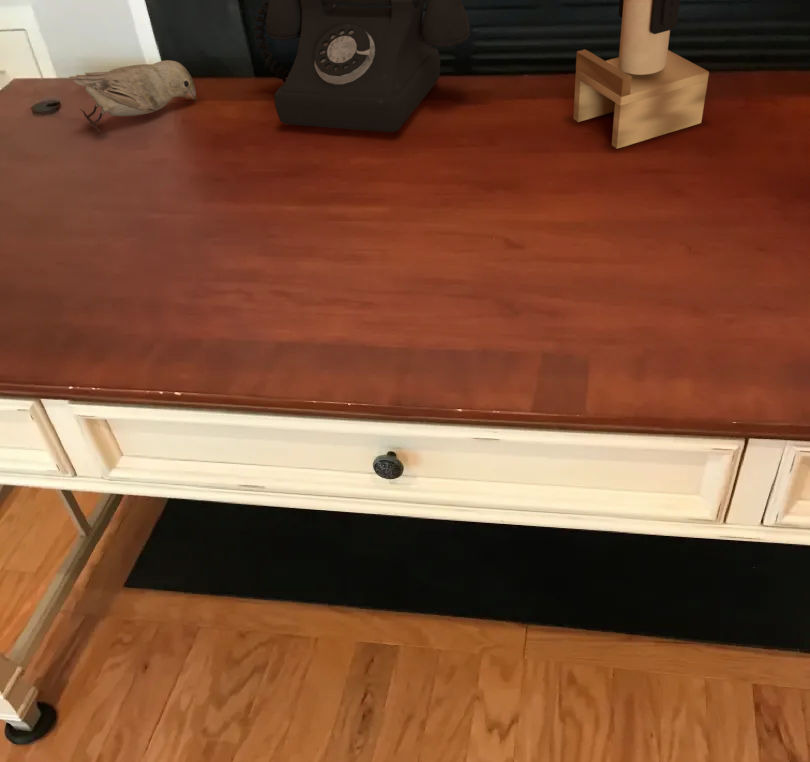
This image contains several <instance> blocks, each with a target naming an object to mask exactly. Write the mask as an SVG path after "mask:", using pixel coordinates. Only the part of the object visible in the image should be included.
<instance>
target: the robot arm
mask: <svg viewBox="0 0 810 762" xmlns="http://www.w3.org/2000/svg"><path fill="white" fill-rule="evenodd" d="M623 2H624V0H619V4H618V17H620V18H622V14H623ZM680 2H681V0H653V4H652V14H651V24H650V32H651V33H653V34H658V33H661V32H665V31H669V30H670V31H671V30H675V29H676V28H677V26H678V20H679V10H680Z"/></svg>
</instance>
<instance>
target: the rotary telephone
mask: <svg viewBox="0 0 810 762" xmlns="http://www.w3.org/2000/svg"><path fill="white" fill-rule="evenodd" d="M424 3H425V4H426V7H425V11H424V5H425V4H424ZM260 5H261V7H258V8H257V14H258V15H257V16H255V18H254V20H255V22H258V23H261V24H260V25H258V24H256V25H254V26H253V27H254V30H255V31H261V32H260V33H256V34H254V39H255V40H261V41H260V42H258V43H257V44H256V48H257V49H258V50H261V51H260V53H259V55H260V57H261V58H262V59H265V60H264V65H265V66H266V67H269V71H270V73H271V74H274V75H275V77H276V78H277V79H278V80H282V82H283V83H282V85H280V86H279V87H278V88H277V89H276V91H275V92H274V95H273V96H274V107H275V110H276V114H277V116H278V120H279V121H280V122H281V123H282V124H283V125H290V126H291V125H292V126H303V127H316V128H329V129H344V130H357V131H370V132H384V133H395V132H397V131H399V130H400V129H401V128H402V126H403V125H404V124H405V123H406V121H407V120H409V117H410V116H411V115H412V114H413V112H414V111H415V110H416V109H417V108H418V106H419V105H420V104H421V102H422V101H423V100H424V98H425V97H426V96H427V94H428V93H429V92H430V91H431V89H433V87H434V86H435V85H436V83H437V82H438V81H439V78H440V76H441V59H440V52H439V50H438V49H437V48H449V47H452V46H457V45H460V44H462V43H463V42H465V41H466V40H468V38H469V37H470V34H471V31H470V29H471V27H470V22H469V17H468V15H467V11H466V9H465V7H464V5H463V2H462V0H268V1H265V0H263V1H262V2H261V3H260ZM351 5H352V6H351ZM379 6H381V7H379ZM382 6H384V7H382ZM385 6H389V7H385ZM390 6H391V7H390ZM265 26H266V28H264V27H265ZM266 31H267V32H266ZM266 33H267V36H268V37H269V38H270V39H273V40H276V41H289V40H295V39H299V42H298V46H297V52H296V56H295V58H294V61H293V65H292V67H291V68H290V70H289V72H288V70H285V71H283V72H282V70H283V66H281V65H280V66H278V67H277V68H275V67H276V65H278V61H277V60H271V59H272V58H273V56H274V55H273V54H272V53H271V52H269V50H270V47H269V45H268V44H266V42H267V37H266V36H265V35H266ZM281 72H282V74H280V73H281Z"/></svg>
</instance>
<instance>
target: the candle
mask: <svg viewBox="0 0 810 762" xmlns="http://www.w3.org/2000/svg"><path fill="white" fill-rule="evenodd" d="M652 4H653V0H624V2H623V14H622V17H621V27H620V28H621V29H620V40H619V53H618V57H619V68H620V69H621V70H622V71H624V72H626V73H630V74H636V75H645V74H652V73H656V72H659V71H661V70H662V69H663V68H664V67H665V65H666V60H667V52H668V50H669V42H670V34H671V30H669V31H665V32H661V33H658V34H653V33H651V32H650V24H651V14H652Z"/></svg>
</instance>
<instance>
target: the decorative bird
mask: <svg viewBox="0 0 810 762" xmlns="http://www.w3.org/2000/svg"><path fill="white" fill-rule="evenodd" d="M68 78H69V79H70V80H72V82H73V83H75V84H76V85H78V86H79V85H80V86H84V90H85V92H87V94H88V95H89V96H90V97H91V99H93V101H94V102H95V104H94V107H93V111H92V112H90V113H89V114H87V113H86V112H85V111H84V110H83V109H81V108H78V110H80V111H81V112H82V113H83V116H84V117H85V118H86V120H87V121H88V122H89V124H90V125H91V126H92V128H93V129H95V130H97V131H98V133H99V135H101V131H100V129H99V127H97V125H96V124H97V123H99V122H100V121H101V119H102V116H103V115H104V114H105V113H107V114H109V115H111V116H112V117H113V116H114V117H134V116H140V115H148V114H152V113H155V112H157V111H159V110H161V109H163V108H164V107H165V106H166V105H167V104H169V102H170V101H172V99H173V98H178V97H180V98H186V99H188V100H192V101H195V102H197V91H196V86H195V82H194V79H193V77H192V76H191V74H190V72H189V71H188V70H187V68H186V67H185V66H184V65H183V64H182V63H180V62H178V61H176V60H167V59H166V60H160V61H157V62H155V63H151V64H150V63H148V64H147V63H146V64H133V65H127V66H121V67H117V68H115V69H111V70H108V71H97V72H85V74H76V75H73V76H72V75H71V76H70V75H69V76H68ZM98 107H99V108H101V110H100V113H99V116H98V118H97V119H96V120H95V121H93V120H92V119H91V117H92V116H93V115H95V113H96V112H97V109H98Z"/></svg>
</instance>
